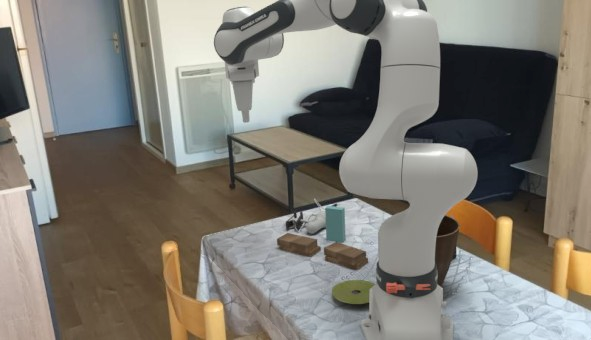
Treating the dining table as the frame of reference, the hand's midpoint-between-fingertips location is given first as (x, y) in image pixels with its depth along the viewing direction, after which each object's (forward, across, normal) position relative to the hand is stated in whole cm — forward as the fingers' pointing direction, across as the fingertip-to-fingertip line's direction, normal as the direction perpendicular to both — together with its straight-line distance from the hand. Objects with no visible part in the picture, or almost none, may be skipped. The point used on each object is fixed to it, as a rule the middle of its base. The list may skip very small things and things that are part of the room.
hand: (246, 121), depth 156 cm
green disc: (+35, +39, +22) cm, 57 cm away
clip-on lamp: (+32, -15, +24) cm, 43 cm away
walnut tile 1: (+33, +6, +8) cm, 34 cm away
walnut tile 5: (+35, +16, +20) cm, 43 cm away
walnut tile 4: (+33, +15, +20) cm, 41 cm away
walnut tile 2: (+35, +7, +8) cm, 36 cm away
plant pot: (+35, +36, +39) cm, 64 cm away
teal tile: (+35, +5, +23) cm, 42 cm away
